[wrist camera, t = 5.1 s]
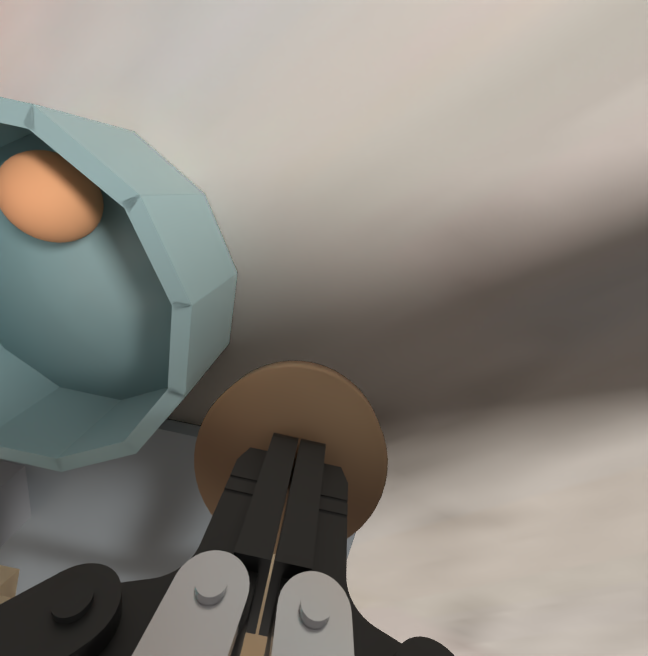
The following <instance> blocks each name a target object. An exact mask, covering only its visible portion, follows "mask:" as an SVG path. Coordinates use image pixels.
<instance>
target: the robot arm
mask: <svg viewBox="0 0 648 656" xmlns="http://www.w3.org/2000/svg"><path fill="white" fill-rule="evenodd" d="M298 439H299V438H297V437H292V436H288V435H283V434H279V433H273V436H272V439H271V442H270V445H269V448H268V451H265V450H261V449H256V448H252V447H250V448H249V449H248V450H247V451H246V452H244V453H243V454H242V455H241V456H240V457H239V458H238V459H237V460H236V463H235V465H234V467H233V470H232V472H231V474H230V478H229V479H228V481H227V483H226V486H225V488H224V491H223V493H222V495H221V497H220V499H219V502H218V504H217V506H216V509H215V511H214V513H213V516H212V518H211V520H210V522H209V525H208V527H207V529H206V532H205V534H204V536H203V539H202V541H201V543H200V545H199V547H198V549H197V551H196V552H195V554H194V555H193V556H192V557H191V558H190V559H189V560H188V561H187V562H186V563H185V564H184V565H183V566H182V567H180V568H178V569H177V570H175V571H173V572H171V573H169V574H167V575H164V576H161V577H157V578H151V579H144V580H136V581H128V582H120V579H119V576H118V575H117V574H116V572H115V571H114V570H113V569H111V568H110V567H108V566H106V565H102V564H98V563H86V564H80V565H76V566H73V567H70V568H68V569H66V570H63V571H61V572H59V573H58V574H56V575H54V576H52V577H50V578H48V579H46V580H44V581H43V582H41V583H39V584H37V585H35V586H33V587H31V588H30V589H28V590H26V591H24V592H22V593H20V594H18V595H17V596H15V597H13V598H11V599H9V600H7V601H5V602H4V603H2V604H0V656H240V654H241V650H242V646H243V642H244V638H245V634H246V632H247V633H251V634H255V633H256V629H257V624H258V620H259V615H260V611H261V606H262V602H263V597H264V593H265V588H266V584H267V579H268V575H269V570H270V566H271V561H272V557H273V552H274V548H275V543H276V539H277V534H278V530H279V525H280V521H281V516H282V512H283V507H284V503H285V498H286V494H287V489H288V485H289V480H290V476H291V471H292V467H293V462H294V458H295V453H296V448H297V444H298ZM325 450H326V444H324V443H320V442H315V441H311V440H306V439H302V438H301V440H300V445H299V449H298V454H297V458H296V463H295V467H294V472H293V476H292V481H291V485H290V490H289V495H288V499H287V504H286V508H285V513H284V518H283V522H282V527H281V532H280V536H279V541H278V546H277V550H276V555H275V559H274V564H273V569H272V573H271V578H270V583H269V587H268V592H267V597H266V601H265V606H264V610H263V615H262V620H261V624H260V629H259V634H258V635H262V636H266V637H267V643H266V648H265V653H264V656H454V655H453V654H452V653H451V652H450V651H449V650H448V649H447V648H446V647H444V646H443V645H442V644H440V643H439V642H437V641H435V640H433V639H430V638H427V637H413V638H410V639H408V640H406V641H404V642H403V643H402V644H401V643H400V642H398V641H397V640H395V639H393V638H392V637H390V636H389V635H387V634H385V633H384V632H382V631H381V630H379V629H377V628H376V627H374V626H373V625H372V624H370V623H369V622H368V621H367V620H366V619H365V618H364V617H363V616H362V615H361V614H360V613H359V611H358V610H357V608H356V607H355V605H354V604H353V602H352V600H351V598H350V595H349V592H348V588H347V582H346V562H347V515H348V504H347V502H348V482H347V479H346V477H345V475H344V473H343V470H342V468H341V467H338V466H334V465H329V464H325V463H324V459H325Z"/></svg>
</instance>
